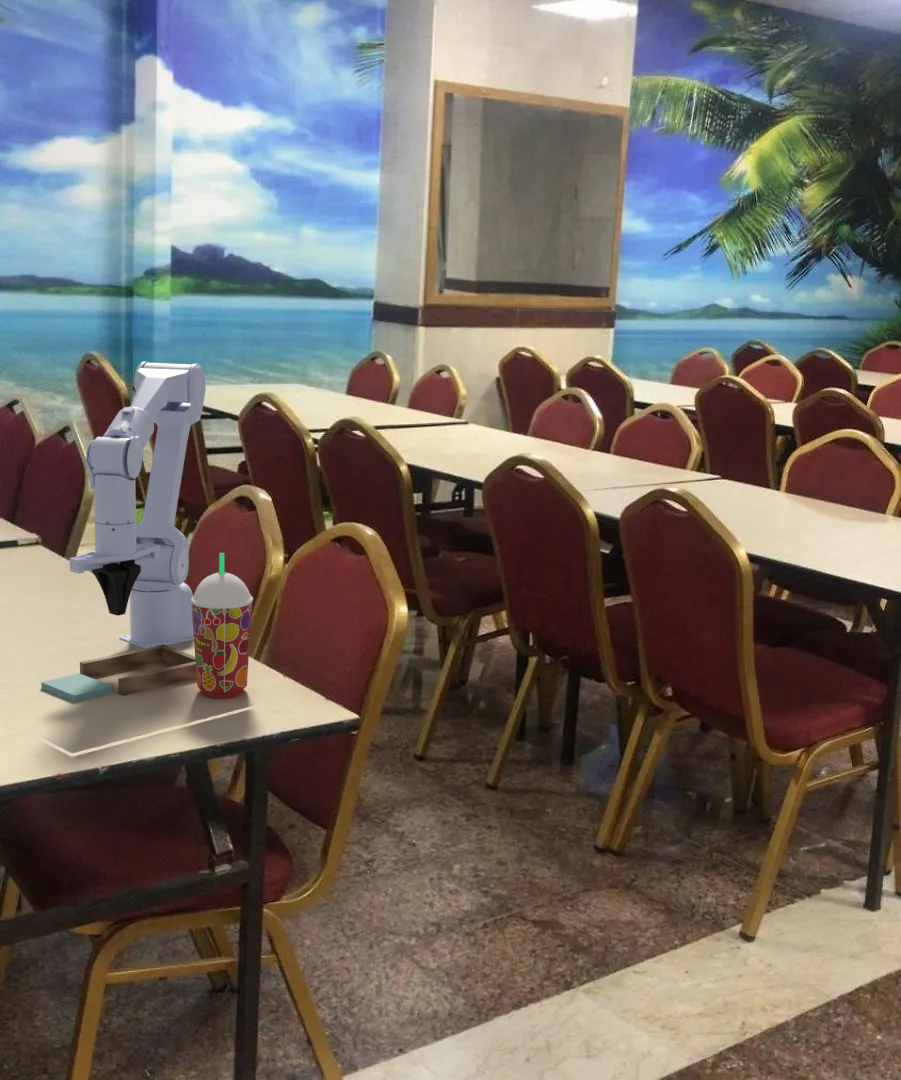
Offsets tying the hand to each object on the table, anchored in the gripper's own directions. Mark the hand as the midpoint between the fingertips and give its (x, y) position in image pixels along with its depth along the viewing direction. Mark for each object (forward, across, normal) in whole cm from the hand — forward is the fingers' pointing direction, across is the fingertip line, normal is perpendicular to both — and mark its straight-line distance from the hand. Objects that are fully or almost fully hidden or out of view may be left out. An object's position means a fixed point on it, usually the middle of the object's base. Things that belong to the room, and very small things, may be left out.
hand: (117, 613), depth 192 cm
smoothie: (+9, -2, +19) cm, 21 cm away
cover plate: (+9, +11, +4) cm, 15 cm away
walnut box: (+8, +1, +6) cm, 10 cm away
